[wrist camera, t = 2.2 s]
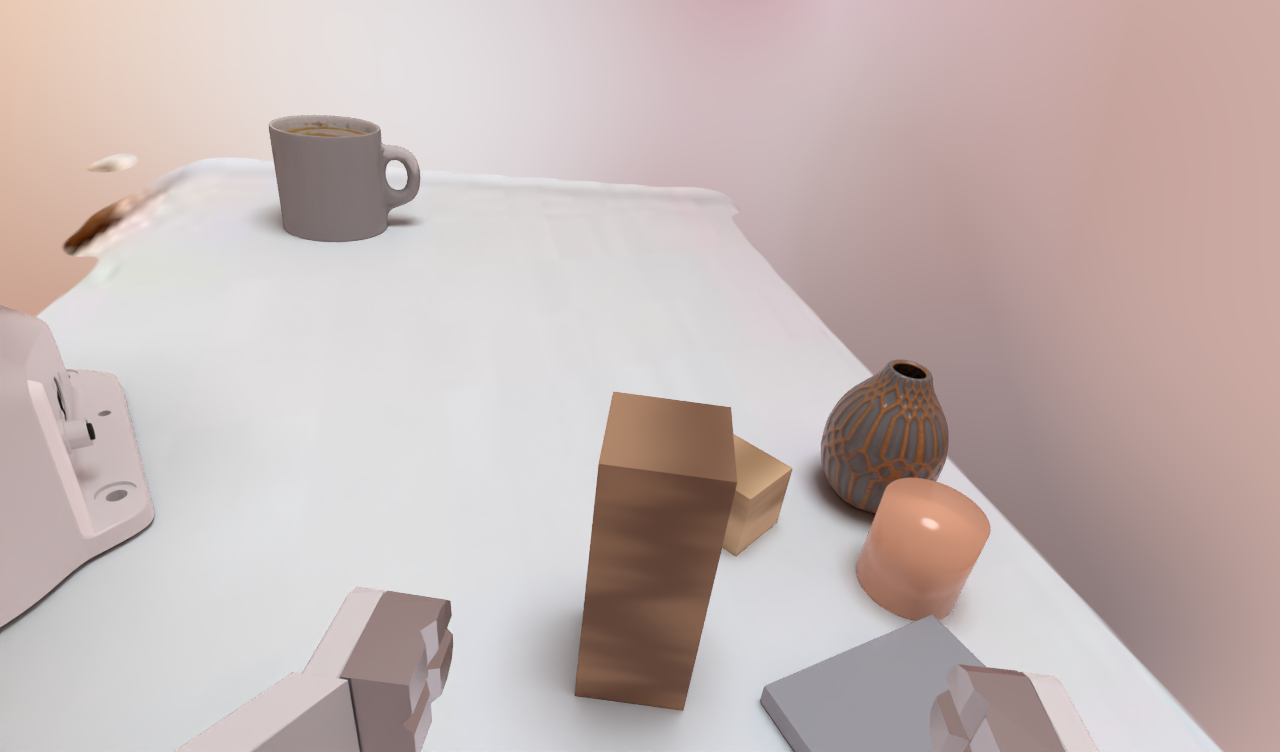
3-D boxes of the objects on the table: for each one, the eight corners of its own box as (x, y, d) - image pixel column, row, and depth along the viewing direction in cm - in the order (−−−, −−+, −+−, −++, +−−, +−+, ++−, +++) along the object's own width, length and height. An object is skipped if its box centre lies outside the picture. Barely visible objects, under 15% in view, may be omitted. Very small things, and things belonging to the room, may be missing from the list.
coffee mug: (270, 238, 66) (252, 131, 61) (300, 207, 74) (286, 111, 69) (413, 247, 68) (408, 144, 63) (427, 216, 76) (422, 123, 71)
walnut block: (574, 695, 28) (599, 463, 22) (589, 608, 32) (613, 391, 26) (683, 710, 28) (737, 482, 22) (684, 621, 32) (730, 407, 26)
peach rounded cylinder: (836, 561, 36) (862, 489, 34) (902, 539, 38) (932, 469, 36) (905, 634, 33) (941, 559, 30) (974, 604, 35) (1012, 532, 32)
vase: (885, 455, 46) (927, 340, 41) (946, 526, 40) (1003, 401, 35) (791, 460, 44) (825, 340, 39) (842, 535, 38) (888, 405, 34)
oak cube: (678, 517, 38) (689, 460, 36) (720, 488, 41) (733, 433, 39) (735, 557, 36) (750, 499, 34) (776, 523, 38) (792, 468, 36)
